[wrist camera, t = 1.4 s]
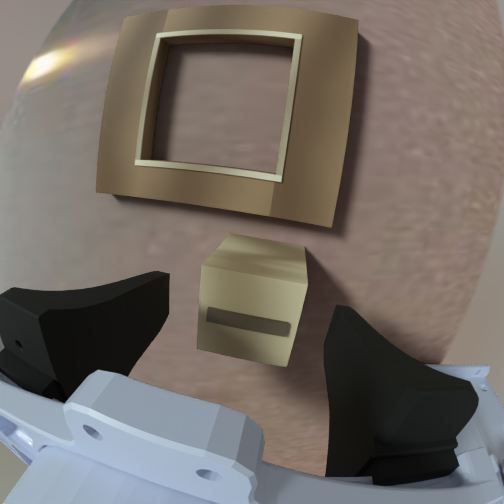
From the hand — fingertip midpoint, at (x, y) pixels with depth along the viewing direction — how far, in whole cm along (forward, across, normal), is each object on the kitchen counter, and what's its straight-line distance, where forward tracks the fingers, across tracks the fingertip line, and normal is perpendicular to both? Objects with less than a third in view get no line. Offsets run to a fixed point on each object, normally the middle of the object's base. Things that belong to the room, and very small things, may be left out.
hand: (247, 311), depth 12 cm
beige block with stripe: (+4, 0, 0) cm, 4 cm away
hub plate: (+4, +3, -9) cm, 10 cm away
